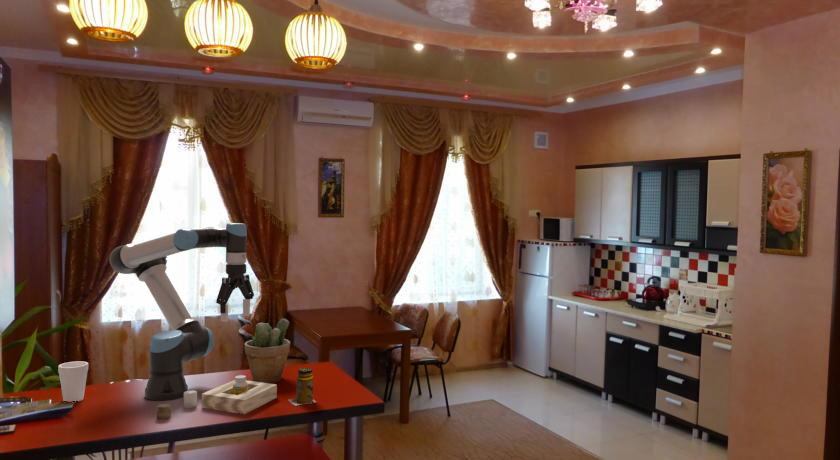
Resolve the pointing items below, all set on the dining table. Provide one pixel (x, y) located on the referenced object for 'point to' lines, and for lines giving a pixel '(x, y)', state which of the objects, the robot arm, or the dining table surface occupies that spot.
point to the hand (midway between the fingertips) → (235, 318)
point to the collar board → (239, 397)
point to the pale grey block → (190, 399)
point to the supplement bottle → (240, 385)
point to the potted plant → (268, 352)
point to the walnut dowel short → (163, 411)
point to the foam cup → (73, 380)
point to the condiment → (304, 387)
